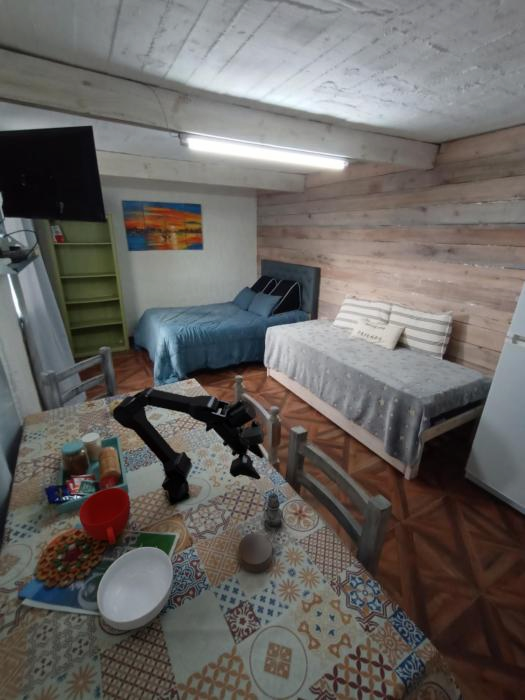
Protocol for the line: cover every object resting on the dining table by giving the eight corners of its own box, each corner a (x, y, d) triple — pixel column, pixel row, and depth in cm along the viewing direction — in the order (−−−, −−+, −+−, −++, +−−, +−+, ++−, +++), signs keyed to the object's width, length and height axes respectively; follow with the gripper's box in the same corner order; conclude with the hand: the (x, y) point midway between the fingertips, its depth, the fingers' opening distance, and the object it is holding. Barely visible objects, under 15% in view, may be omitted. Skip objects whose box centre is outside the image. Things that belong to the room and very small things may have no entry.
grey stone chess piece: (281, 533, 93) (282, 502, 88) (261, 529, 94) (261, 499, 89) (284, 516, 98) (285, 486, 94) (265, 513, 99) (265, 483, 95)
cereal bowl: (177, 627, 71) (174, 607, 68) (96, 654, 66) (89, 633, 64) (174, 556, 86) (171, 538, 83) (108, 574, 82) (103, 555, 79)
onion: (107, 411, 153) (105, 398, 151) (124, 405, 158) (121, 393, 156) (113, 418, 148) (110, 405, 145) (130, 412, 153) (128, 399, 150)
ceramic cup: (89, 572, 82) (81, 545, 78) (84, 524, 95) (77, 499, 92) (141, 547, 88) (136, 521, 85) (129, 505, 102) (124, 481, 98)
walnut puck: (249, 580, 80) (249, 571, 79) (233, 551, 87) (232, 542, 86) (278, 561, 85) (278, 552, 84) (260, 535, 92) (260, 527, 91)
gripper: (245, 439, 83) (280, 479, 87) (254, 403, 100) (283, 437, 104) (214, 458, 86) (249, 495, 90) (228, 419, 104) (256, 452, 107)
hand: (261, 467), depth 98 cm, fingers open, 9 cm apart
